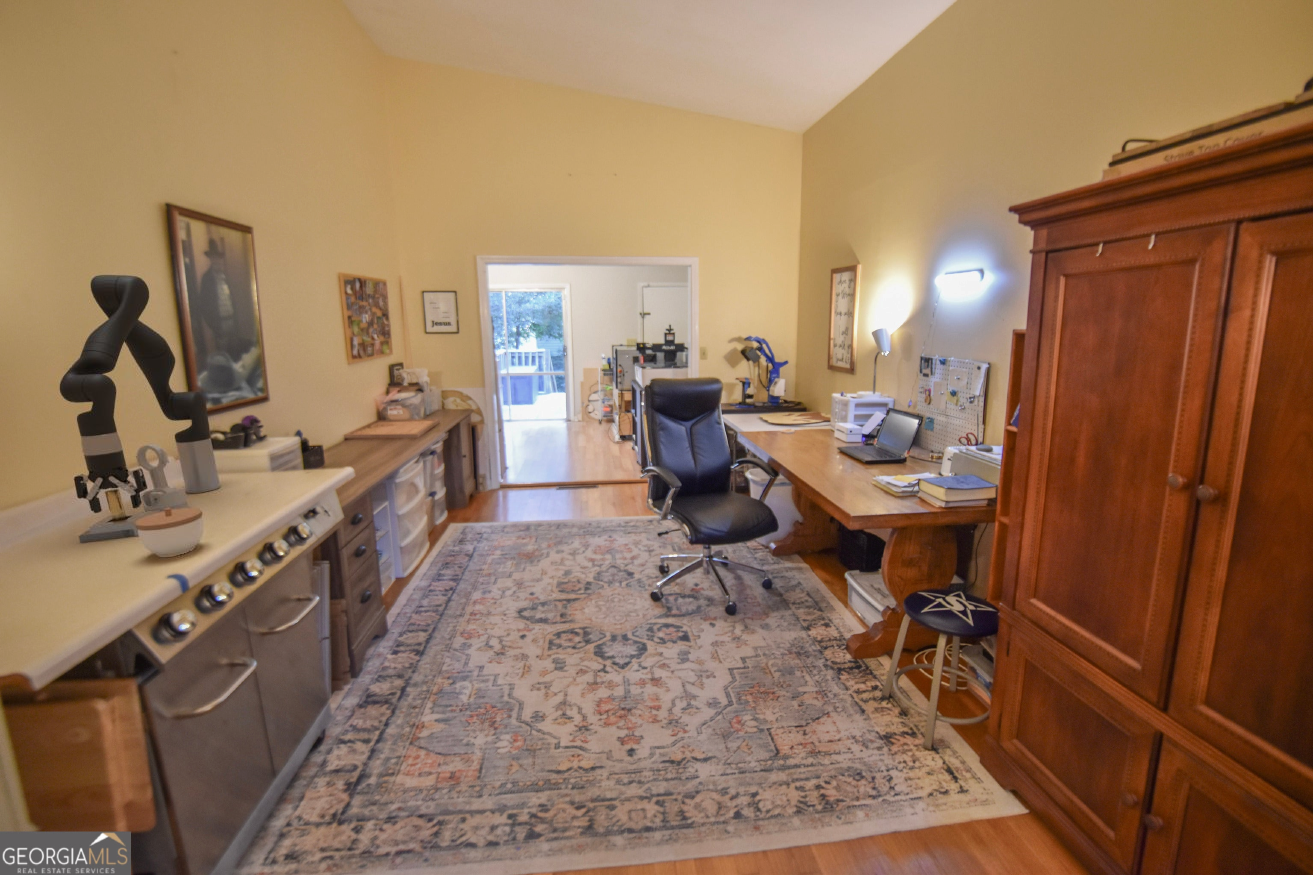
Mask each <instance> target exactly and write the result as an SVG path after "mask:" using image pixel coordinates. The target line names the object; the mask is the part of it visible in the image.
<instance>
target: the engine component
mask: <svg viewBox="0 0 1313 875" xmlns="http://www.w3.org/2000/svg"><path fill="white" fill-rule="evenodd" d="M148 450H150V451H153V452H154V453H155V455H156V456H157V460H158V463H157V465H156V466H154V465H152V464H151V463H150V462H149V461H148V458H147V451H148ZM135 458H136V461H137V464H138V467H141V469H144V470H145V471H147V472H148V473H149V476H150V480H151V483H152V487H153V489H149V490H148V489H147V490H144V492H143V491H142V492H140V497H141V501H142V505H143V510H144V512H149V511H157V510H164V509H166V508H171V509H174V508H183V507H185V508H189V504H188V500H187V495H186V489H185V486H183V487H182V488H179V489H176V488H175V487H171V486H169V485H168V481H167V477H166V474H165V471H164V469H165V468H166V467H167V464H169V463H170V460H169V457H168V454H167V451H165V450H164V449H163V448H162V447H161V446H160V445H158V444H154V443H150V444H149V443H148V444H146V445H143V446H141V447H139V448H138V450H137V453H136V456H135Z"/></svg>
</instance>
